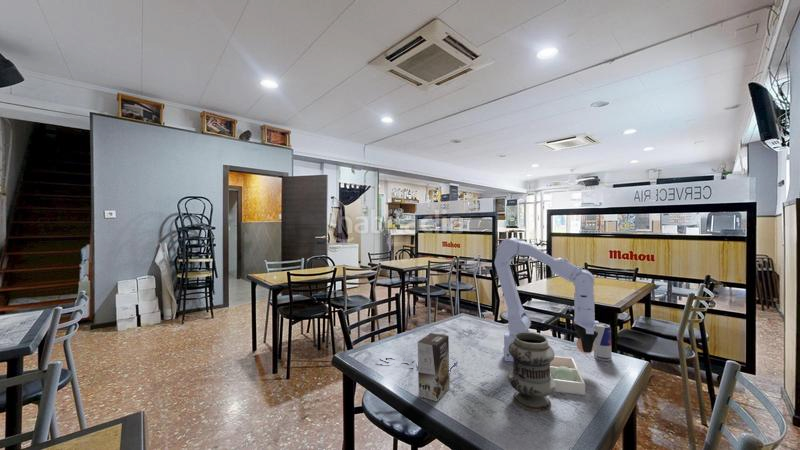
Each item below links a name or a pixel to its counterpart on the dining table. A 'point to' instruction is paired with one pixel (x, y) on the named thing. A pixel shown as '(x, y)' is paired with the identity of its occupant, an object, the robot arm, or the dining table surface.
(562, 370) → the sage ball
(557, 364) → the sorting tray
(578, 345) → the terracotta ball
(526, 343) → the apothecary jar
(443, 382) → the coffee box
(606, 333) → the energy drink
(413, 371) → the dining table surface
